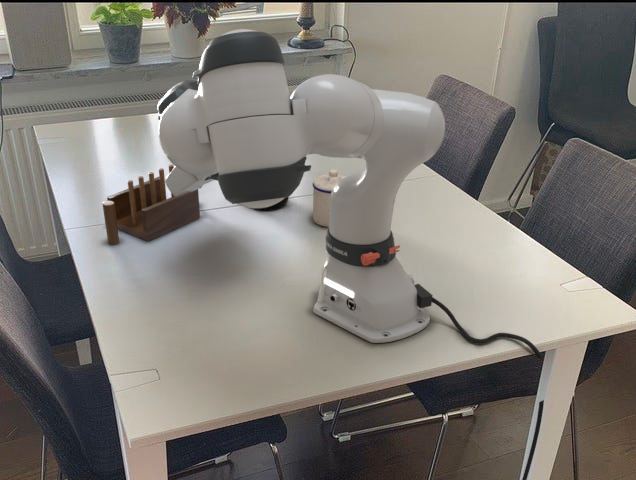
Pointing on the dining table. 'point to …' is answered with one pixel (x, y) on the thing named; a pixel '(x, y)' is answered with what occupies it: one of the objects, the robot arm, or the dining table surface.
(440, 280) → the dining table surface
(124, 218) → the plate rack
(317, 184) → the teacup with lid
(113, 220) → the marker posts
